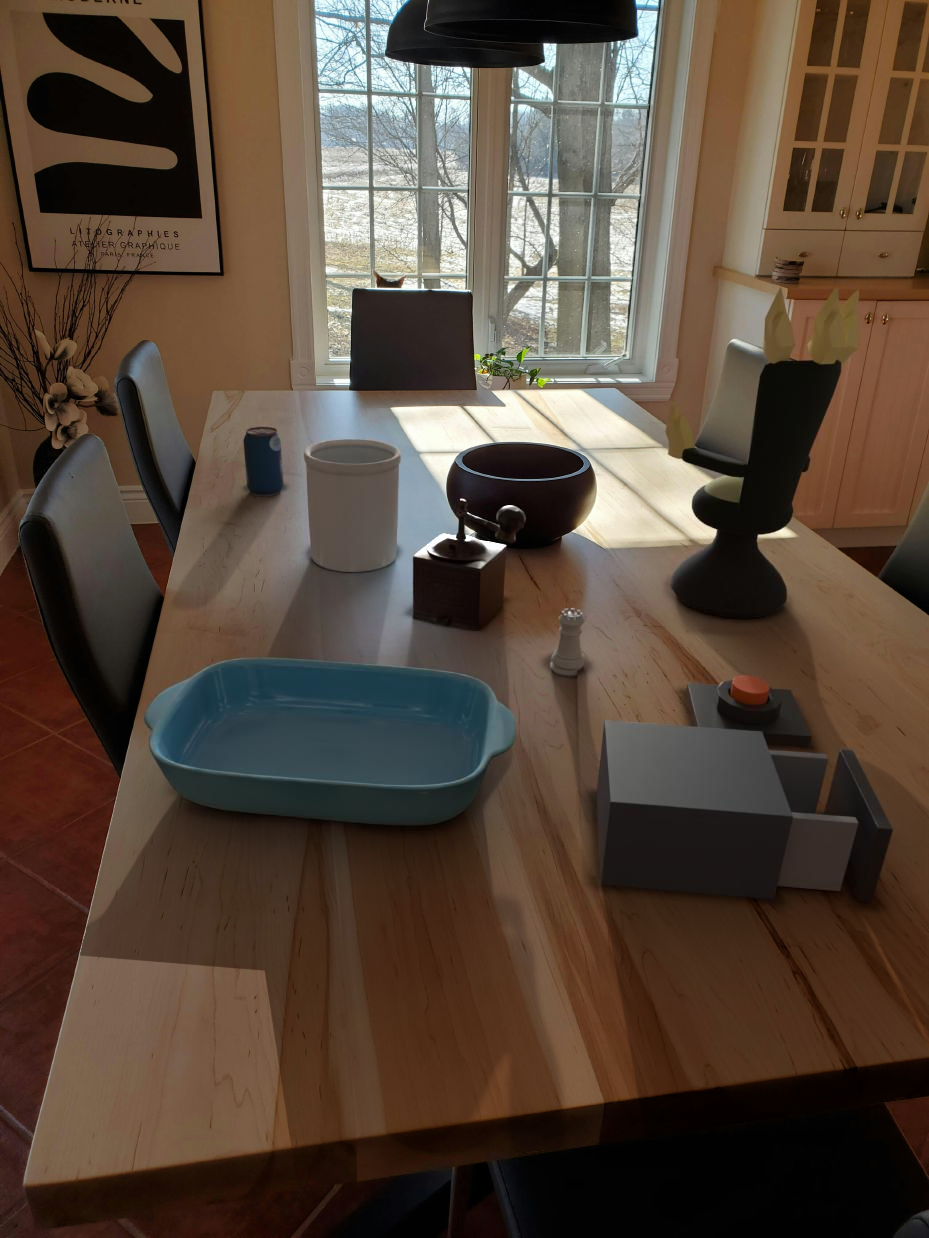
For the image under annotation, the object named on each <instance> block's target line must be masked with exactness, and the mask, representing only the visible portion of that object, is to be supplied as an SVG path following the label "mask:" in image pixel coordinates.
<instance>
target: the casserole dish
mask: <svg viewBox="0 0 929 1238" xmlns="http://www.w3.org/2000/svg"><path fill="white" fill-rule="evenodd" d="M143 720H144V724H145V726H146V727H147V728H148V729H149V730H150V731H151V733H150V735H149V739H148V748H149V752H150V754H151V756H152V757H153V759H154V761H155V763H156V764H157V766H158V768H159V770H160V771H161V773H162V774H163V776H164V778H165V779H166V780H167V782H168V783H169V785H170V786H171V788H172V789H174V791H176V792H177V793H178V794H179V795H180V796H181V797H183V798H184V799H186V800H188V801H190V802H192V803H195V804H197V805H201V806H204V807H208V808H212V809H217V810H222V811H228V812H238V813H245V814H246V813H248V814H257V815H258V814H259V815H269V816H279V817H280V816H281V817H291V818H303V819H311V820H312V819H314V820H325V821H333V822H335V821H336V822H345V823H356V824H357V823H358V824H368V825H385V826H431V825H437V824H439V823H444V822H446V821H450V820H451V819H453V818H455V817H457V816H458V815H460V814H461V813H463V812H464V811H465V810H466V809H468V807H469V806H470V805H471V803H472V802H473V800H474V799H475V798H476V796H477V794H478V791H479V790H480V786H481V784H482V782H483V779H484V776H485V774H486V771H487V769H488V768H489V764H490V762H491V761H492V760H493V759H494V758H496V757H499V756H500V755H502V754H505V753H506V752H508V751H509V750H510V749H511V748H512V747H513V745H514V743H515V740H516V735H517V734H516V733H517V720H516V717H515V715H514V713H513V711H511V709H509V708H508V707H506V706H505V705H504V704H502V703H501V702H500V701H498V700H497V697H496V694H495V692H494V690H493V689H492V688H491V687H490V686H489V685H488V684H487V683H486V682H484V681H482V680H480V679H479V678H476V677H473V676H470V675H467V674H463V673H458V672H455V671H453V672H452V671H447V670H439V669H431V668H421V667H409V666H398V665H387V664H386V665H384V664H371V663H357V662H342V661H328V660H315V659H301V658H300V659H299V658H283V657H282V658H280V657H243V658H242V657H240V658H234V659H228V660H227V659H226V660H223V661H219V662H217V663H213V664H210V665H209V666H207V667H205V668H202V669H201V670H200V671H198V672H197V673H195V674H194V675H192V676H191V677H189V678H186V679H185V680H182V681H180V682H178V683H176V684H173V685H171V686H169V687H167V688H166V689H165V690H163V691H161V692H160V693H159V694H158V695H157V696H155V698H154V699H153V700H152V701H151V703H150V704H149V705H148V706H147V709H146V710H145V713H144V716H143Z"/></svg>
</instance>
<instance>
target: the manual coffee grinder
mask: <svg viewBox="0 0 929 1238" xmlns="http://www.w3.org/2000/svg"><path fill="white" fill-rule="evenodd" d="M457 506H458V508H457V510H456V511H455V512H456V515H457V516H458V526H457V527H458V528H457V533H456V534H454V535H453V534H448V533H447V534H446V533H441V534H440V535H437V537H435V538H434V539H433V540H432V541H430V542H429V543H427V544H426V545H425V546H424V547H422V548H421V549H420V550H418V552H416V553H415V554H414V555H413V556H412V619H413V620H417V621H422V622H425V623H431V624H434V625H438V626H443V627H448V628H449V627H450V628H457V629H462V630H463V629H464V630H473V631H481V630H482V629H484V628H485V627H486V626H488V625H489V624H490V622H491V621H492V620H494V618H495V617H496V616H497V615H498V614H499V613H500V611H501V609H502V606H503V605H504V603H505V578H506V577H505V576H506V560H507V559H506V558H507V545H511V544H515V543H516V540H517V537H516V534H517V532H518V531H520V530H521V529H522V528H524V527H525V523H526V519H527V518H526V514H525V512H524V511H523V510H522V509H520V508H519V507H517V506H515V505H505V506H503V507H500V509H499V510H498V511H497V513H496V521H497V523H498V524H496V523H493V522H492V521H488V520H486V519H483V518H481V517H479V516H475V515H473V514H471V513H469V512H468V509H467V507H468V502H467V500H466V499H464V498H460V499H459V500H458V501H457ZM466 520H468V521H469V522H471V523H473V524H476V525H478V526H482V527H484V528H487V529H489V530H492V531H494V532H495V535H494V536H495V540H498V542H500V543H497V542H492V541H486V540H480V539H478V538H476V537H473V536H471V535H468V534H466V531H465V530H466V528H465V527H466ZM506 544H507V545H506Z"/></svg>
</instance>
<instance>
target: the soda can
mask: <svg viewBox="0 0 929 1238" xmlns="http://www.w3.org/2000/svg"><path fill="white" fill-rule="evenodd" d="M242 441H243V442H242V443H243V453H244V465H245V466H244V468H245V478H246V479H245V480H246V487H247V489H248V490H249V492H250V493H251V495H254V496H257V497H272V496H277V495H279V494H280V493H281V492H282V491H283V488H284V485H285V482H284V467H283V454H282V438H281V437H280V435H279V433H278V429H277V428H275V427H271V426H255V427H250V428H248V429H246V430H245V435H244V438H243V440H242Z"/></svg>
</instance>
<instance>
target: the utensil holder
mask: <svg viewBox="0 0 929 1238" xmlns="http://www.w3.org/2000/svg"><path fill="white" fill-rule="evenodd" d="M303 459H304V462H305V467H306V490H307V491H306V494H307V511H308V512H307V513H308V516H307V517H308V531H309V543H310V555H311V559H312V561H313V562H314V563H315V564H317V565H318V566H319V567H321V568H324V569H327V570H331V571H335V572H342V573H362V572H370V571H371V572H372V571H375V570H380V569H382V568H385V567H387V566H389V565H391V564H392V563H393V562H394V561H395V560H396V559H397V552H398V551H397V549H398V548H397V547H398V526H399V491H400V489H399V488H400V463H401V462H402V461H401V459H402V454H401V451H400V449H399V448H398V447H396V446H395V445H393V444H390V443H387V442H384V441H380V440H374V439H365V438H338V439H328V440H323V441H319V442H315V443H312V444H309V445H308V446H306V447H305V449H304V450H303Z"/></svg>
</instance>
